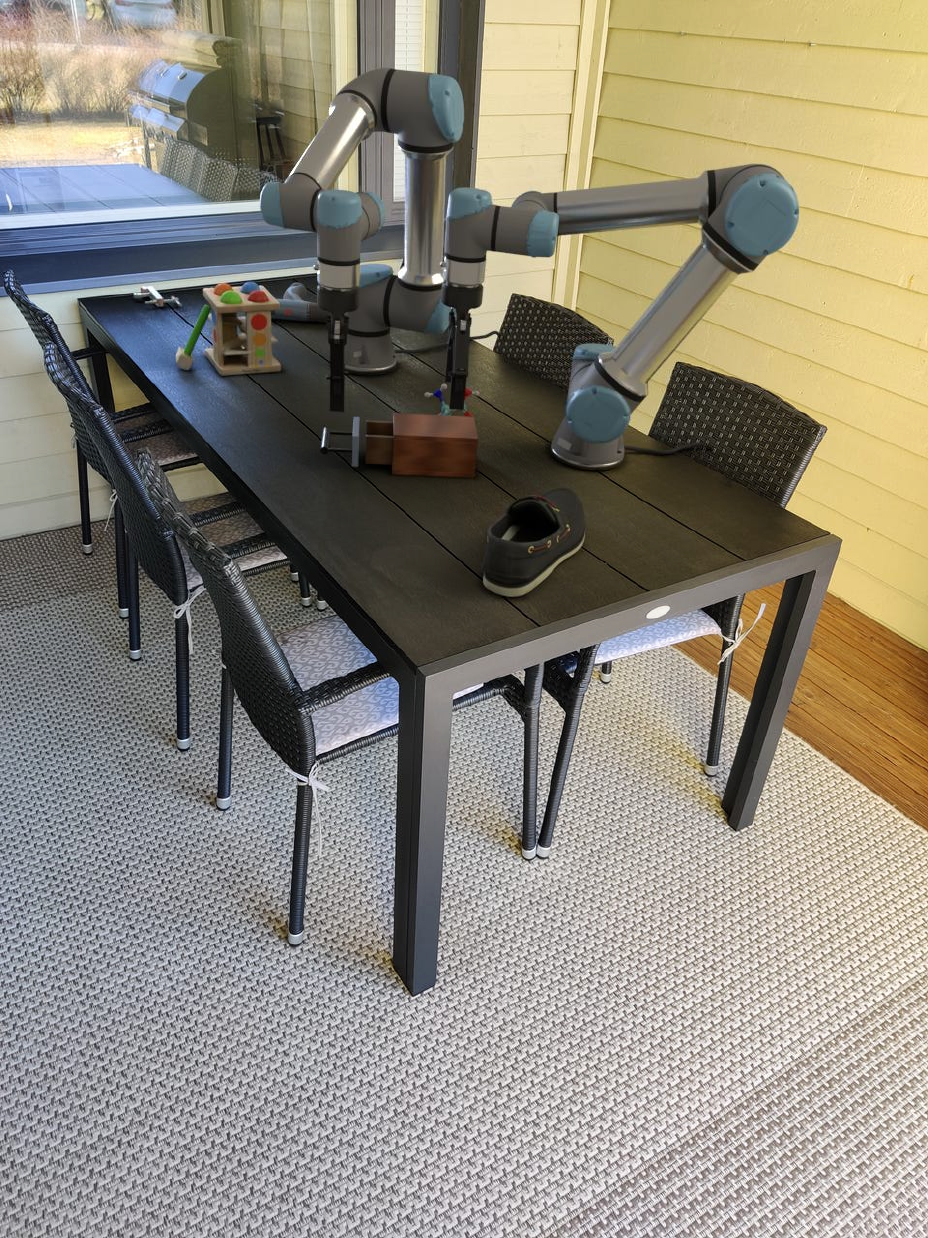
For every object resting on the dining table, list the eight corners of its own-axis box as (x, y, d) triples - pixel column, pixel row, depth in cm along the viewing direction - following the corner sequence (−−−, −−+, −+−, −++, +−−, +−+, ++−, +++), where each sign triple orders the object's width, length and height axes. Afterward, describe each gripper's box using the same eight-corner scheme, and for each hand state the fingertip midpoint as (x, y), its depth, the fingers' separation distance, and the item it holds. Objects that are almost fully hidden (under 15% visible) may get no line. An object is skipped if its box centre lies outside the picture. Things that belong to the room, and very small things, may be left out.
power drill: (344, 304, 276) (335, 327, 259) (277, 298, 275) (264, 321, 258) (344, 285, 273) (335, 306, 256) (277, 279, 272) (264, 300, 255)
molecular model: (472, 422, 205) (456, 376, 203) (432, 437, 208) (416, 391, 207) (488, 419, 215) (474, 375, 214) (450, 433, 219) (435, 390, 218)
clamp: (129, 286, 265) (166, 284, 270) (130, 295, 267) (167, 292, 271) (144, 303, 255) (182, 300, 259) (145, 312, 256) (183, 309, 261)
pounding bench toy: (183, 379, 220) (176, 299, 210) (169, 357, 231) (162, 280, 221) (282, 371, 230) (280, 294, 220) (264, 350, 240) (262, 276, 230)
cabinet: (392, 474, 190) (393, 434, 186) (391, 450, 199) (393, 412, 194) (474, 477, 192) (478, 438, 187) (470, 454, 201) (473, 416, 196)
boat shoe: (609, 530, 179) (617, 478, 174) (520, 603, 155) (525, 545, 150) (547, 511, 185) (553, 460, 179) (452, 578, 161) (455, 522, 155)
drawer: (319, 465, 189) (319, 434, 185) (322, 444, 197) (322, 414, 193) (428, 469, 191) (430, 439, 188) (426, 449, 199) (428, 420, 195)
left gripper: (318, 273, 180) (318, 396, 193) (315, 294, 169) (315, 422, 182) (360, 276, 180) (357, 398, 194) (358, 297, 170) (356, 424, 183)
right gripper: (438, 262, 186) (431, 370, 198) (446, 301, 165) (437, 419, 177) (477, 264, 186) (468, 372, 198) (490, 304, 166) (478, 421, 178)
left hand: (337, 410), depth 188 cm, fingers closed
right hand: (453, 394), depth 188 cm, fingers open, 13 cm apart
